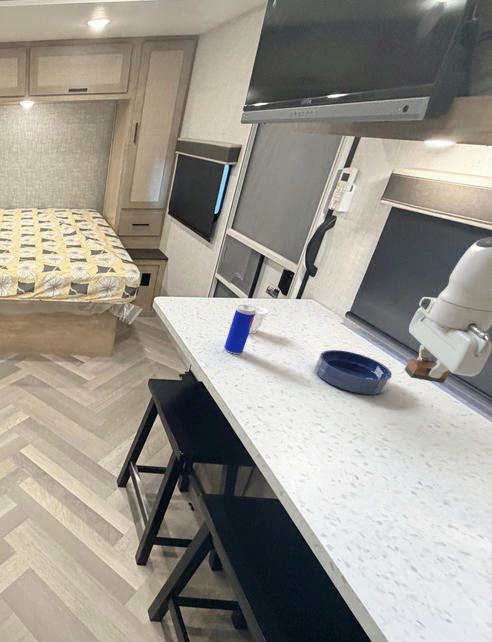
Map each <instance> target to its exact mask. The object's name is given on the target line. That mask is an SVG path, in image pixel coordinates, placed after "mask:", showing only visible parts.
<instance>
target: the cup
mask: <svg viewBox="0 0 492 642" xmlns="http://www.w3.org/2000/svg"><path fill="white" fill-rule="evenodd" d="M248 306H252V307H254V308H255V309H256V314H255V317H254V320H253V323H252V326H251V329H250V332H249V334H256V333H257V331H258V329H260V327H261V326H262V324H263V323H264V320H265V319H266V317H267V315H268V313H269V311H268V310H267V308H265V307H262V306H259V305H252V304H248Z"/></svg>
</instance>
